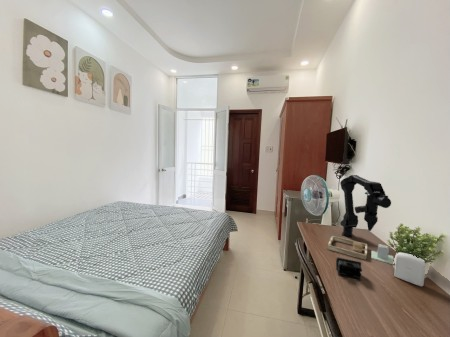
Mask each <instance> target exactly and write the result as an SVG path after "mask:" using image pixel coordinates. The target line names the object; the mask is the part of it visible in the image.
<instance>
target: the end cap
mask: <svg viewBox="0 0 450 337" xmlns="http://www.w3.org/2000/svg"><path fill="white" fill-rule="evenodd" d="M335 260H336V261H335V264H336V265H335V266H336V268H335V269H336V271H337V275H338V276H339V277H342V278H346V279H351V280H356V281H362V280H361V278H362V272H363V269H362V262H361V261H358V260H353V259H348V258H343V257H336V259H335Z"/></svg>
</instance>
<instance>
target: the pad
mask: <svg viewBox="0 0 450 337" xmlns="http://www.w3.org/2000/svg"><path fill="white" fill-rule="evenodd" d="M377 252H378V251H374V250H371V253H370V254H371V256H370V257H371V259H372V260H375V261H379V262H382V263H386V264H390V265H393V264H392V263H393V260H394V261H395V259H394V255H390V254H388V260H386V259H383V258H379V257H377Z"/></svg>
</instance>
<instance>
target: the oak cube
mask: <svg viewBox="0 0 450 337" xmlns="http://www.w3.org/2000/svg"><path fill="white" fill-rule="evenodd" d="M358 242H359V241H357V242H353V245H352V251H354V252H358V253H362V252H363V248H362V244H361V243H362V242H361V243H358Z"/></svg>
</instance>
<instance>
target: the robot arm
mask: <svg viewBox="0 0 450 337" xmlns="http://www.w3.org/2000/svg"><path fill="white" fill-rule="evenodd" d="M339 184H340V188H341V190H342V191H343V193H344V194H343V197H344V207H345V208H344V209H345V213H344V214H343V216H342V218H343V219H342V220H340V222H339V223H340V226H341V227H343V229H342V233H341V235H342V236H345V237H348V238H353V237H354V233H353V229H354V228H355V229H356V228H357V226H358V224H359V219H358V218H359V216H358V215H356V214H360V213H364V216H363V217H364V218H363V220H364V221H365V222H366V223H367V229H368V231H369V232H371V231H372V229H373V228H374V226H376V224H377V222H378V221H379V220H378V209H379V207H380V208H384V209H388V208H390V206H392V201H391V199H390V198H389V195H387V194H386V193H385V192H386V191H385V190H384V187H383V186H382V184H381V183H380V182H377V181H370V180H368V179H365V178H363V177H361V176H359V175H357V174H351V175H349V176H347V177H344V178H343V179H342V180H341V181H340V183H339ZM357 184H358V185H359V186H362V187H363V188H364V190H365V191H366V192H364V195H366V201H365V202H366V203H365V205H359V206H354V200H353V198H354V197H353V191H354V189H355V186H356V185H357Z"/></svg>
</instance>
